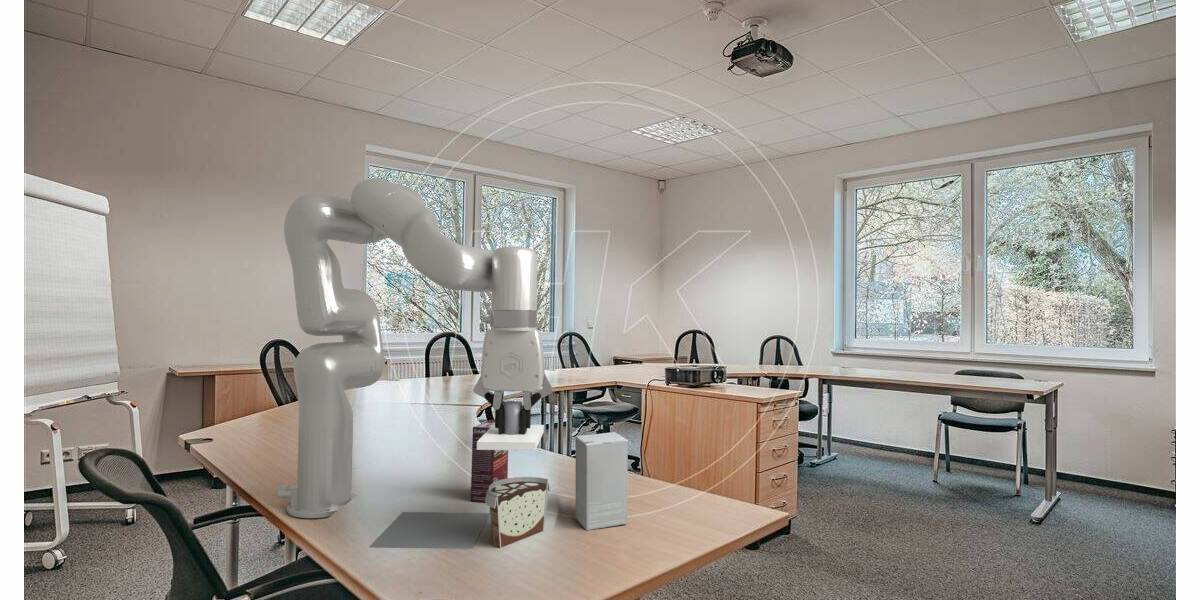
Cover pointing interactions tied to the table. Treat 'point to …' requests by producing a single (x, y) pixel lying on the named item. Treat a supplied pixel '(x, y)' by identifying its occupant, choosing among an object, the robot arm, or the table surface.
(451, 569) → the table surface
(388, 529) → the mat
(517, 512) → the food container
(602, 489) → the skincare box
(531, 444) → the lid
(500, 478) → the supplement box
